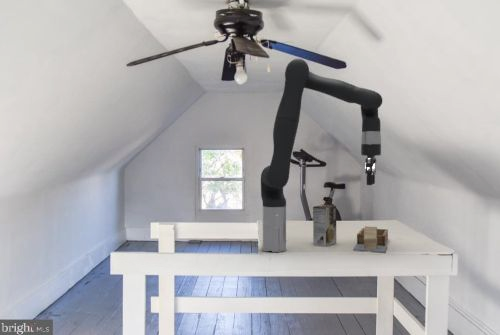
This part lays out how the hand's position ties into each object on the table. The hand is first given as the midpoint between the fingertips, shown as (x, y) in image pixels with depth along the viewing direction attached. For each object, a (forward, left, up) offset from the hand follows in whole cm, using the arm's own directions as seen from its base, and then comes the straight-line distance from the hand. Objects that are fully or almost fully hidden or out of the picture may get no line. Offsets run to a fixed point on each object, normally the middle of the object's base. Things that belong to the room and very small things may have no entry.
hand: (370, 184), depth 170 cm
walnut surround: (+15, +1, -26) cm, 30 cm away
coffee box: (+4, +19, -26) cm, 32 cm away
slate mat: (0, 0, -26) cm, 26 cm away
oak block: (0, 0, -25) cm, 25 cm away
